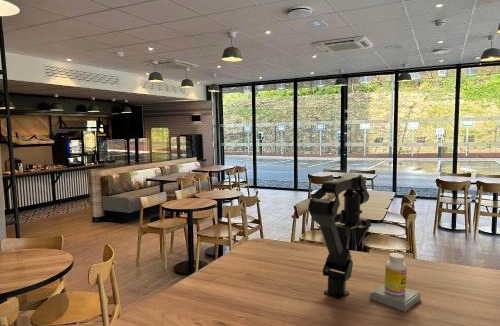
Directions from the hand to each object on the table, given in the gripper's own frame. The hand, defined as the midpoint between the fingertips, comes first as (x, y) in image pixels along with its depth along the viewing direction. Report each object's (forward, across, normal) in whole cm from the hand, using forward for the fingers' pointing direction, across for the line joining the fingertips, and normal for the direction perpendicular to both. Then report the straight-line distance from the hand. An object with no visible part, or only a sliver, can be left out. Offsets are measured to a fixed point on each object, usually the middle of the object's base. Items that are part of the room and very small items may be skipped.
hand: (350, 248), depth 135 cm
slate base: (+13, +1, +18) cm, 22 cm away
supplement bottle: (+11, +1, +18) cm, 21 cm away
